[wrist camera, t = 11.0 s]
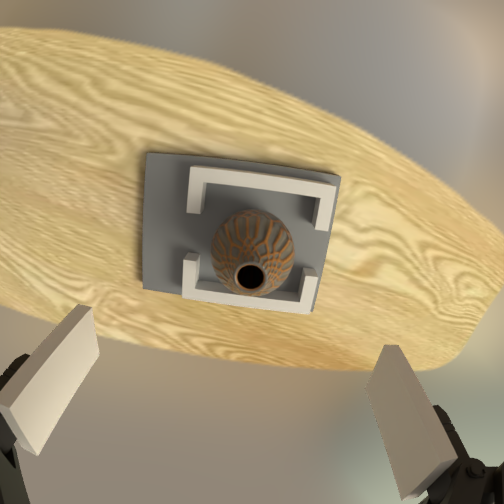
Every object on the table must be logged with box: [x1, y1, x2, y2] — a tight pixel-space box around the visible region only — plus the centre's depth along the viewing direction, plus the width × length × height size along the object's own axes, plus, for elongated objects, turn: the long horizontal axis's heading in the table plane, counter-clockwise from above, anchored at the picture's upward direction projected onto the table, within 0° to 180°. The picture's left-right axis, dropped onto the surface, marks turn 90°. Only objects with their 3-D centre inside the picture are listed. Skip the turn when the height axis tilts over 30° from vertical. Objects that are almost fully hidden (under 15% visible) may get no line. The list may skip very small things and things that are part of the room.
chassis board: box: [142, 152, 341, 314], centre depth 29 cm, size 18×14×3 cm
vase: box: [210, 209, 295, 297], centre depth 25 cm, size 7×7×9 cm
